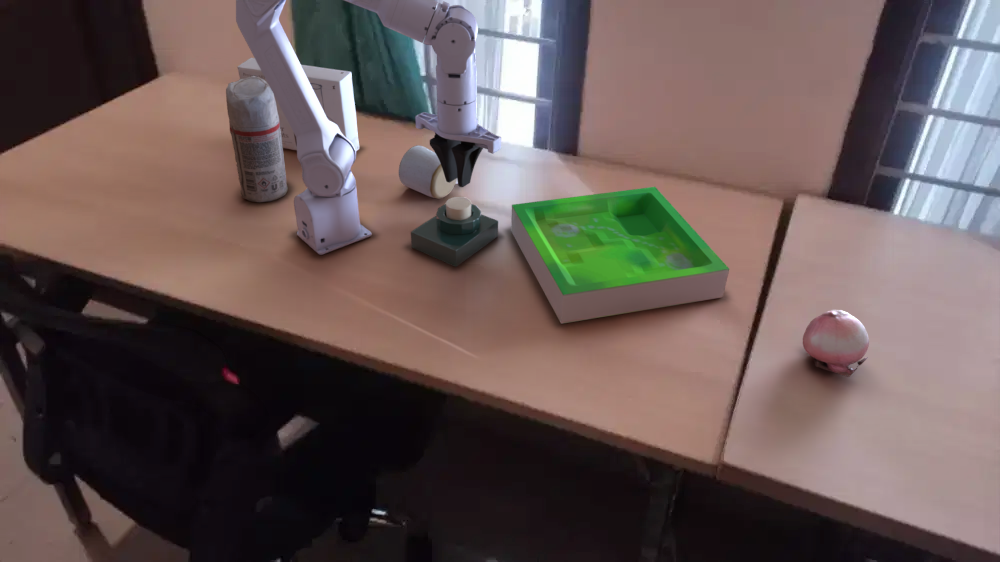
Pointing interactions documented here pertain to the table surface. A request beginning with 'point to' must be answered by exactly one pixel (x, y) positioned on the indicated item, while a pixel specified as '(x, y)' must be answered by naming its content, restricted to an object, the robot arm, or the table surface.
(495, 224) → the dark green button base
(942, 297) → the table surface
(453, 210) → the white push button
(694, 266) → the tray
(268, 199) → the spray can
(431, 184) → the ceramic mug
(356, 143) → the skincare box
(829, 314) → the onion
